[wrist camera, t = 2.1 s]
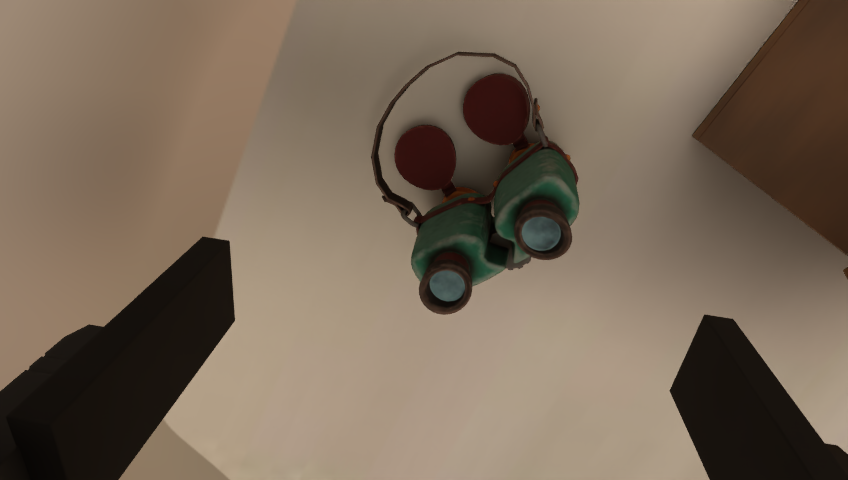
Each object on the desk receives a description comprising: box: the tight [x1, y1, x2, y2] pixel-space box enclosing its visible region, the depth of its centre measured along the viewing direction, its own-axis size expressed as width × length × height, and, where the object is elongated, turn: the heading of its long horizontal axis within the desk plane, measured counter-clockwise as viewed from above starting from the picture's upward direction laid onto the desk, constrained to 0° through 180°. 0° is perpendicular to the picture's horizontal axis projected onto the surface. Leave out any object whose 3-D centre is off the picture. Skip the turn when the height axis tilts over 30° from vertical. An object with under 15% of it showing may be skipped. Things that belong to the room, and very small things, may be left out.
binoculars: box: [371, 52, 579, 315], centre depth 24 cm, size 9×11×10 cm
